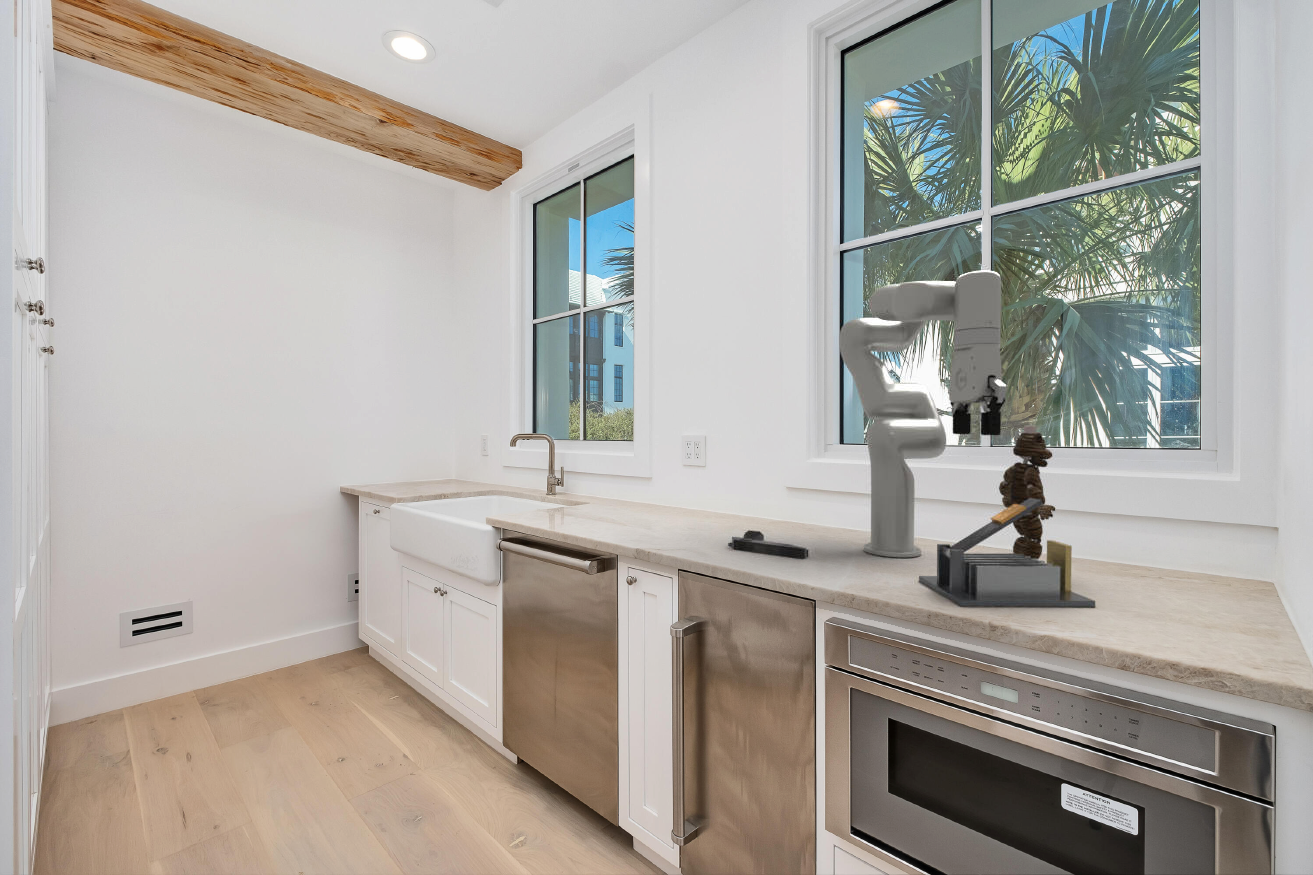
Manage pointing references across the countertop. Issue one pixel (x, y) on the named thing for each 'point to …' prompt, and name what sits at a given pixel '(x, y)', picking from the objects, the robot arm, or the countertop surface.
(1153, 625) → the countertop surface
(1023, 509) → the dark grey lever
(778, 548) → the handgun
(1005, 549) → the countertop surface
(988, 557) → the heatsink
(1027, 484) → the toy
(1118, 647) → the countertop surface
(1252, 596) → the countertop surface
